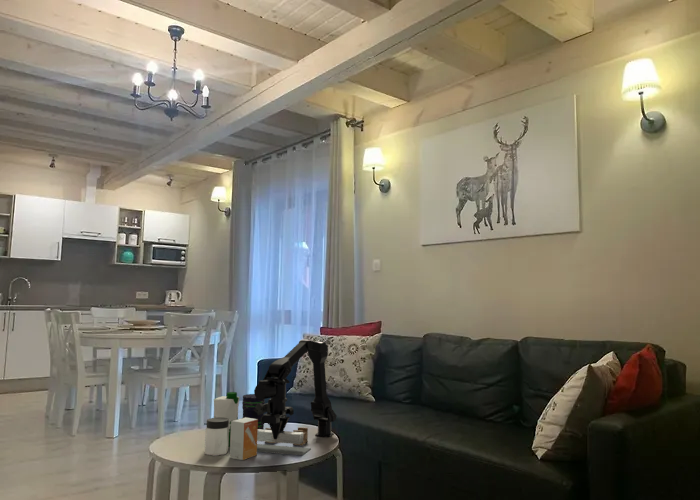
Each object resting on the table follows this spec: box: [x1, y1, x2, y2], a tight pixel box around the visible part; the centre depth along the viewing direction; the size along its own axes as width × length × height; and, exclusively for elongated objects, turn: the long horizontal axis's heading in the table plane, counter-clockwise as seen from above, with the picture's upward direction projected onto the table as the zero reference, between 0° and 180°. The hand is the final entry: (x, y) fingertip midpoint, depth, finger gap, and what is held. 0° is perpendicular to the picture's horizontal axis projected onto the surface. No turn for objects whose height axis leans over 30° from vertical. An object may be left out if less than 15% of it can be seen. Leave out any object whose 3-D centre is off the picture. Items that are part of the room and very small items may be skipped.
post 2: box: [292, 426, 309, 446], centre depth 212 cm, size 6×4×6 cm
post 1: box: [264, 427, 276, 444], centre depth 215 cm, size 6×4×6 cm
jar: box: [204, 417, 229, 457], centre depth 197 cm, size 9×8×12 cm
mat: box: [257, 443, 312, 456], centre depth 201 cm, size 9×24×1 cm, turn 75°
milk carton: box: [213, 391, 240, 448], centre depth 210 cm, size 9×9×20 cm
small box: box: [229, 417, 258, 461], centre depth 193 cm, size 8×6×13 cm
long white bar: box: [257, 429, 303, 445], centre depth 202 cm, size 4×20×4 cm, turn 75°
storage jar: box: [241, 393, 266, 430], centre depth 234 cm, size 10×10×15 cm
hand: (277, 437), depth 202 cm, fingers closed on long white bar, 3 cm apart
